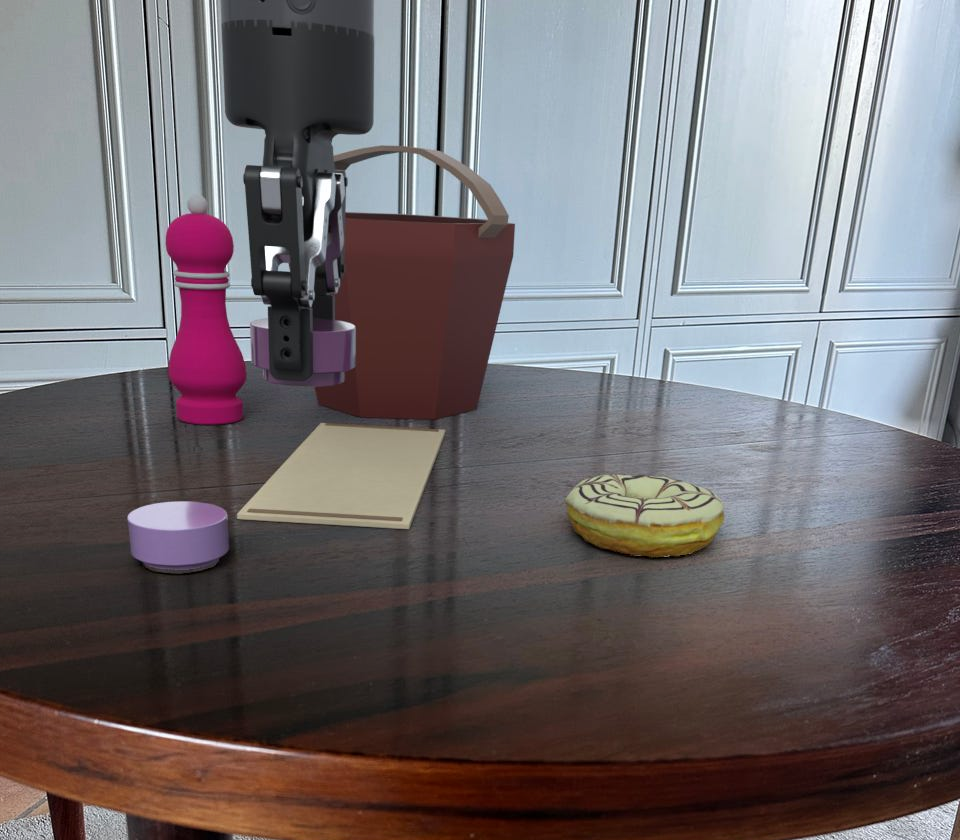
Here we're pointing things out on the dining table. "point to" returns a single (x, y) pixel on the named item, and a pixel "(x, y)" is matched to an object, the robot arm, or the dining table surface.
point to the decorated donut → (644, 514)
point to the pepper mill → (204, 320)
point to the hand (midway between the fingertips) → (304, 368)
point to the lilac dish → (178, 534)
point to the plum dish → (329, 352)
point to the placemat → (350, 477)
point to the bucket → (420, 301)
